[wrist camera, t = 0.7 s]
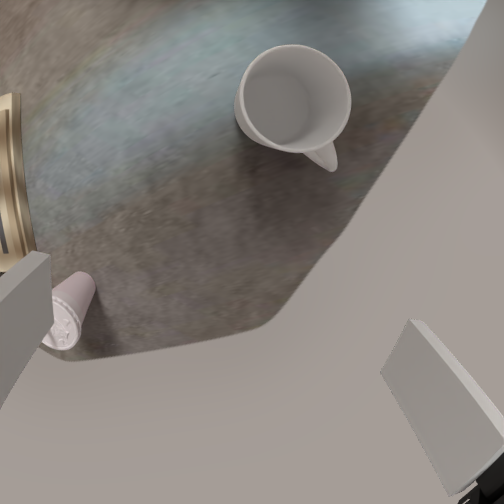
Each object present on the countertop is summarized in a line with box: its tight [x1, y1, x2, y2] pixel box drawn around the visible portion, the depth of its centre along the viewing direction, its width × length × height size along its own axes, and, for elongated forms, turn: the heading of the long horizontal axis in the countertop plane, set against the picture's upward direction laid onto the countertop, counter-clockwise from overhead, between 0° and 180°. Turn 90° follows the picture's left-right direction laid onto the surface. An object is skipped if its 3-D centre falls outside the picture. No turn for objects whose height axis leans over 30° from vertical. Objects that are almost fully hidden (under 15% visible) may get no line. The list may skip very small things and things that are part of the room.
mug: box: [234, 44, 351, 172], centre depth 27 cm, size 9×12×11 cm
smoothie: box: [42, 271, 96, 350], centre depth 30 cm, size 6×6×14 cm
